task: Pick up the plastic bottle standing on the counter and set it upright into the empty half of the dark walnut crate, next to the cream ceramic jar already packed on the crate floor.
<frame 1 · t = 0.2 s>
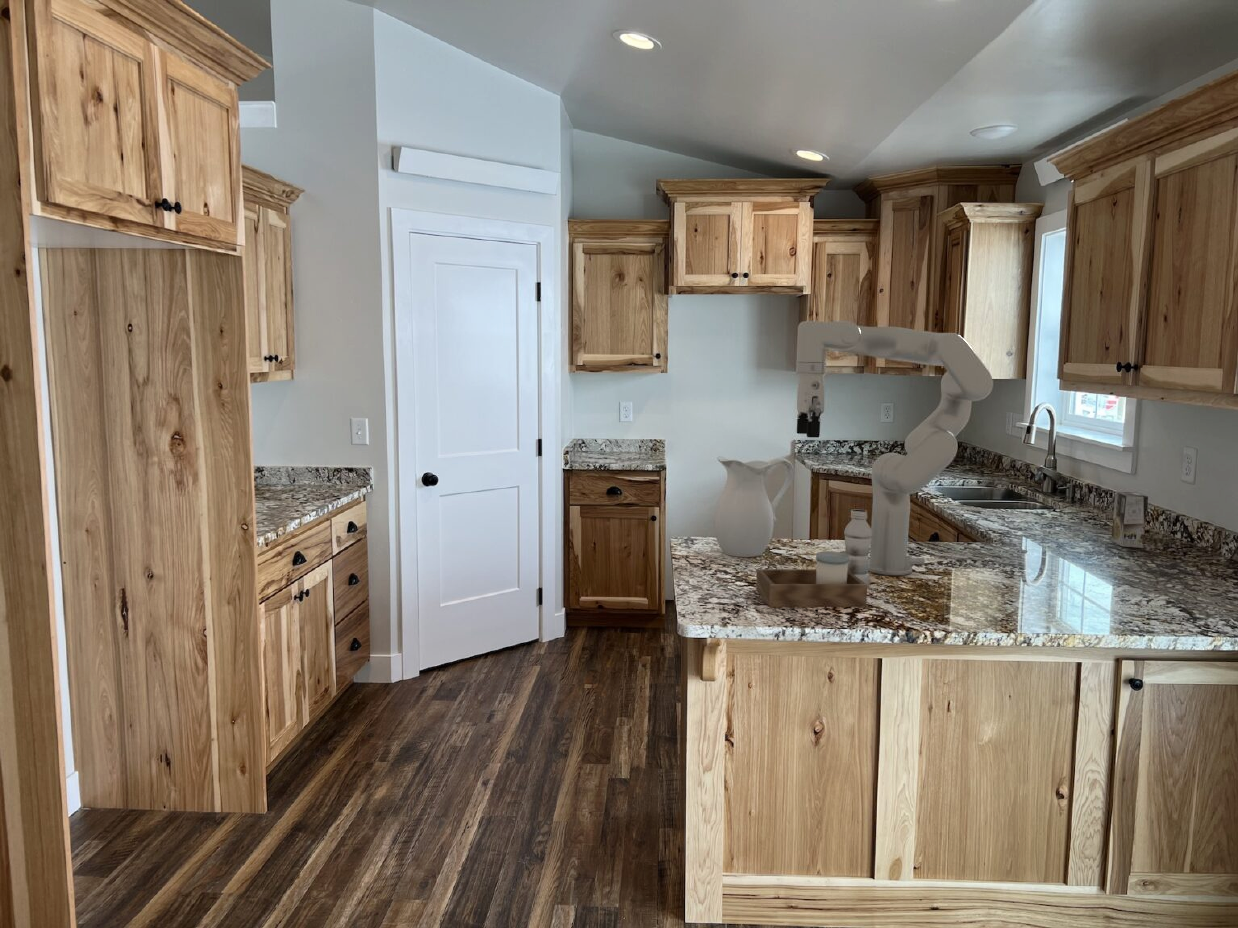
hand: (807, 435, 220), 36 cm above the countertop, tool pointing down, fingers open, 9 cm apart
crate: (809, 601, 196), on the countertop
plastic bottle: (854, 591, 206), on the countertop
pitcher: (753, 553, 245), on the countertop
jar: (830, 597, 197), point 1 cm above the countertop, touching crate
coffee box: (1126, 544, 264), on the countertop
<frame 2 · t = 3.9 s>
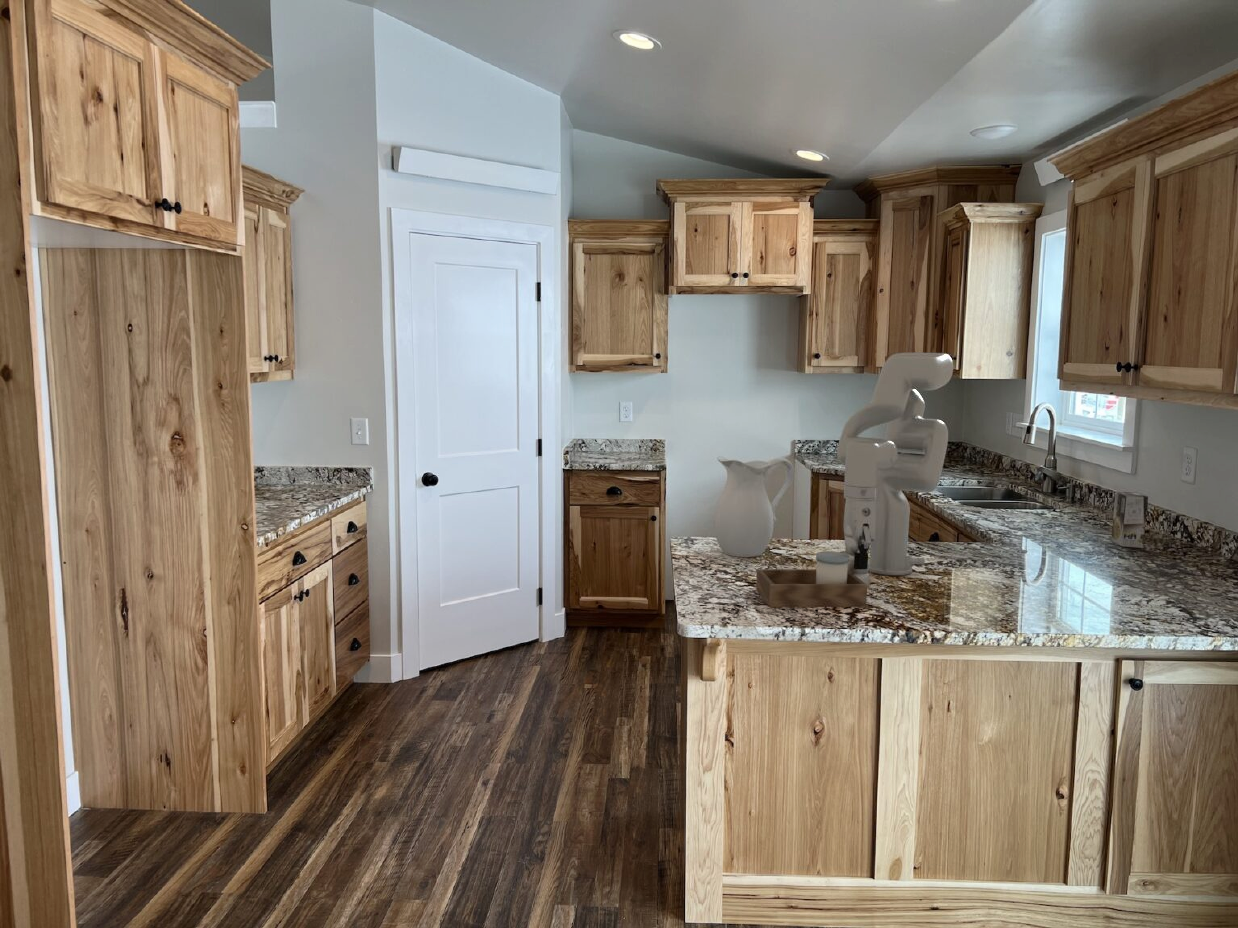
hand: (856, 565, 205), 6 cm above the countertop, tool pointing down, fingers closed on plastic bottle, 5 cm apart
plastic bottle: (854, 591, 206), on the countertop, touching gripper
everything else where it was.
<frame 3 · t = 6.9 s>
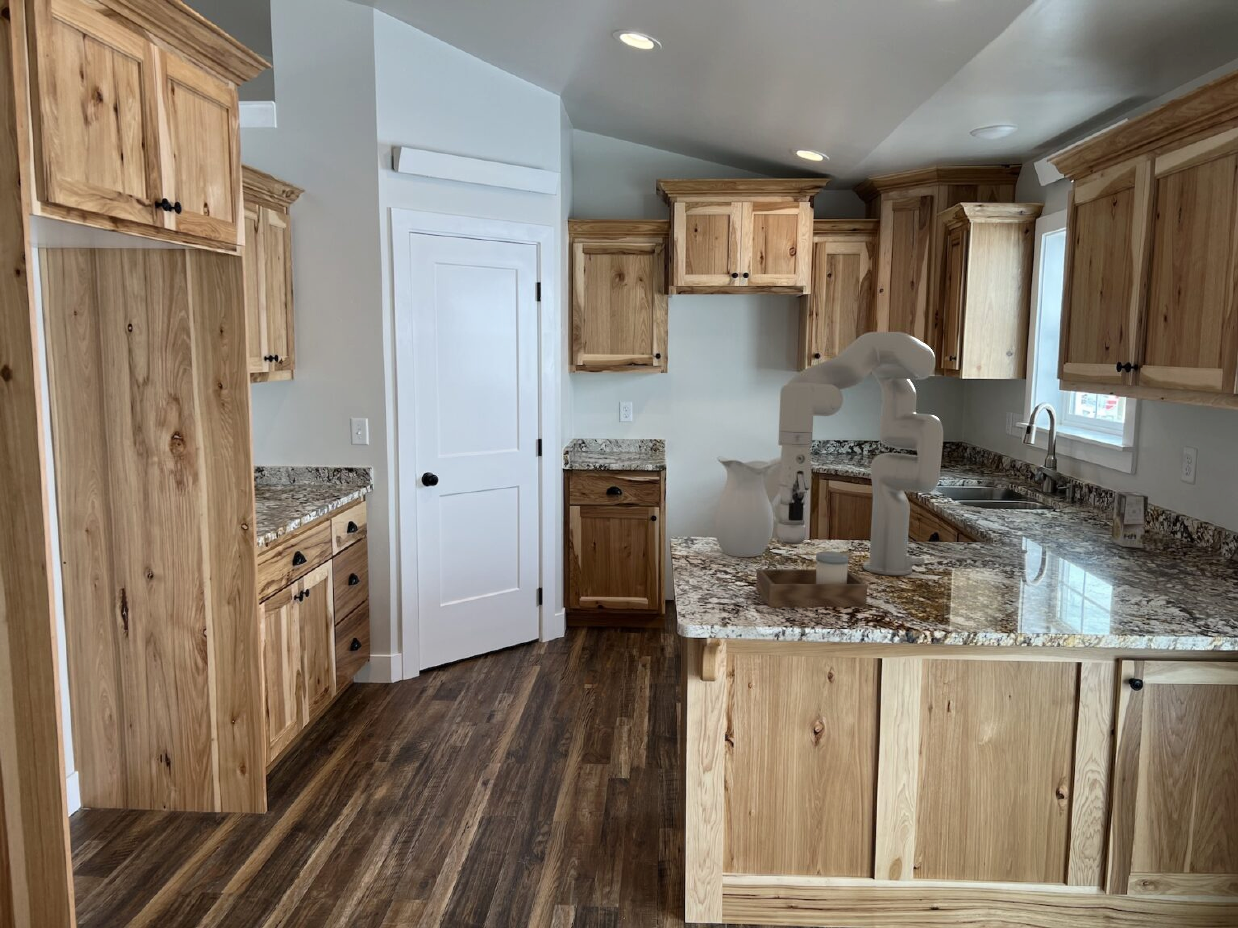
hand: (791, 516, 193), 20 cm above the countertop, tool pointing down, fingers closed on plastic bottle, 5 cm apart
plastic bottle: (790, 545, 194), point 14 cm above the countertop, touching gripper
everything else where it was.
when the fingers open (8 cm above the countertop, at t = 9.8 s): plastic bottle stays where it is, resting on crate.
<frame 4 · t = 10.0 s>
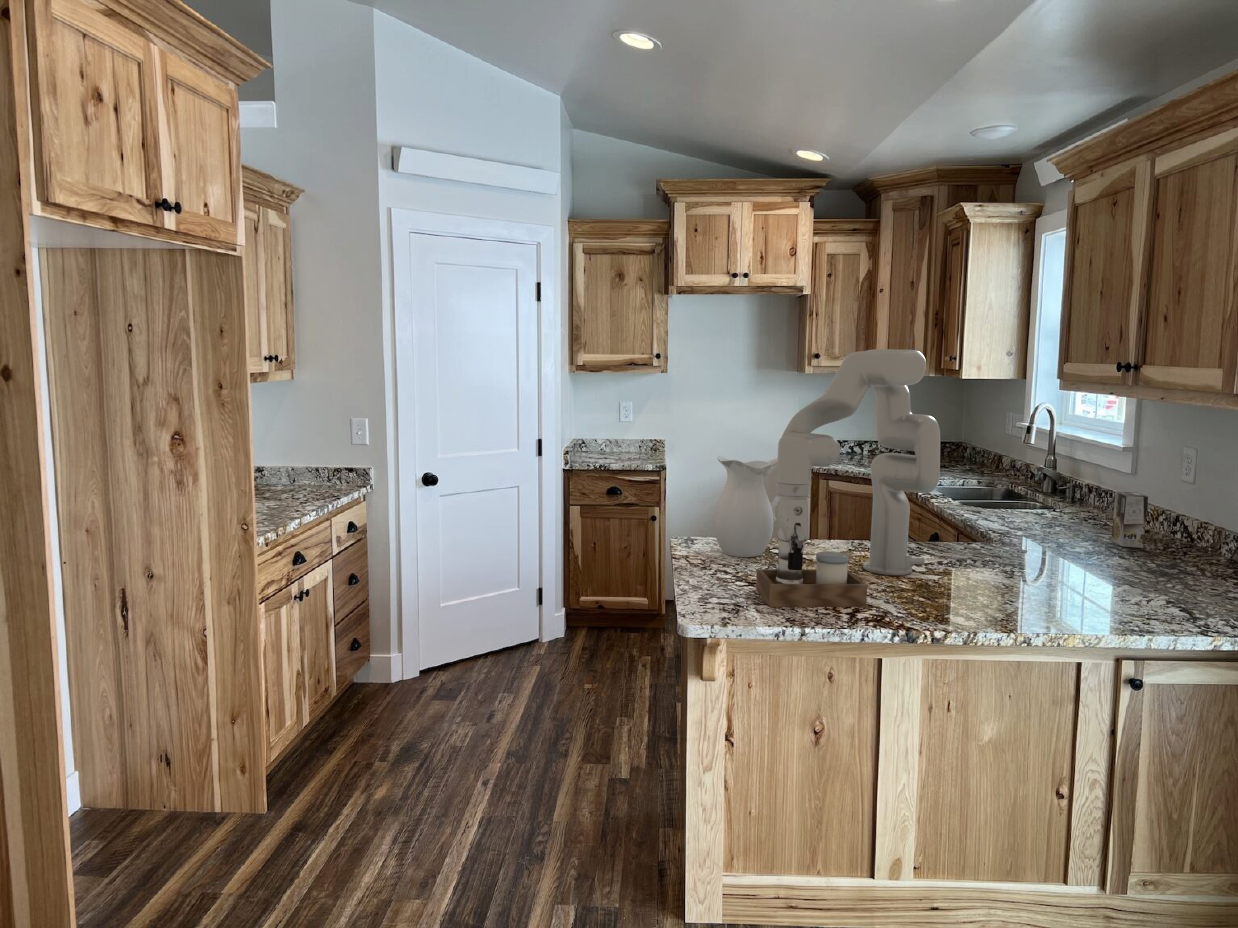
hand: (789, 564, 195), 9 cm above the countertop, tool pointing down, fingers open, 8 cm apart
plastic bottle: (788, 598, 196), point 1 cm above the countertop, touching crate
everything else where it was.
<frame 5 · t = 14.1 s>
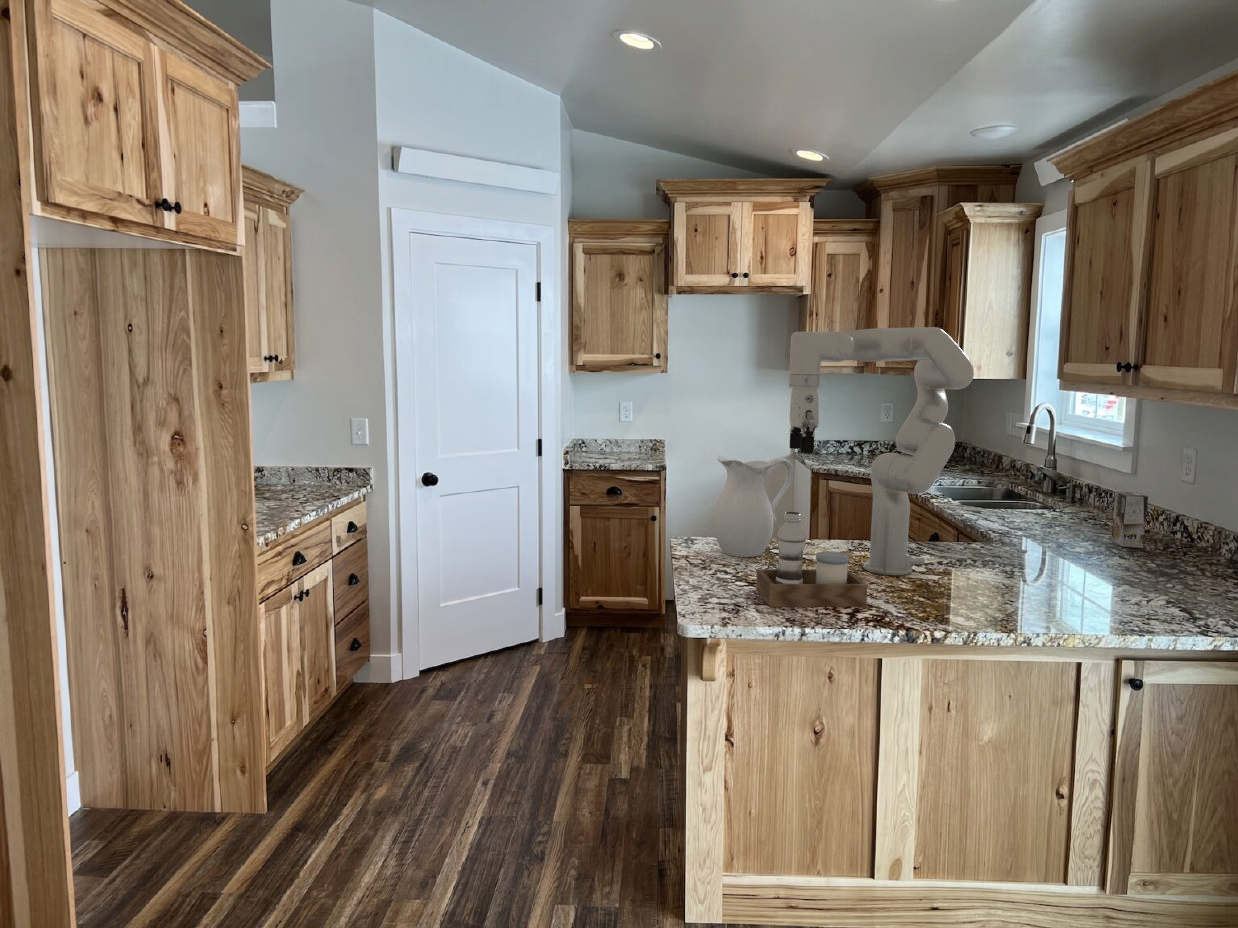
hand: (801, 450, 211), 33 cm above the countertop, tool pointing down, fingers open, 9 cm apart
nothing on the countertop moved.
at the end: plastic bottle inside the target area on the crate (0.4 cm from its centre), point 0.8 cm above the crate's base; plastic bottle tilted 0°; jar moved 0.0 cm from its start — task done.
